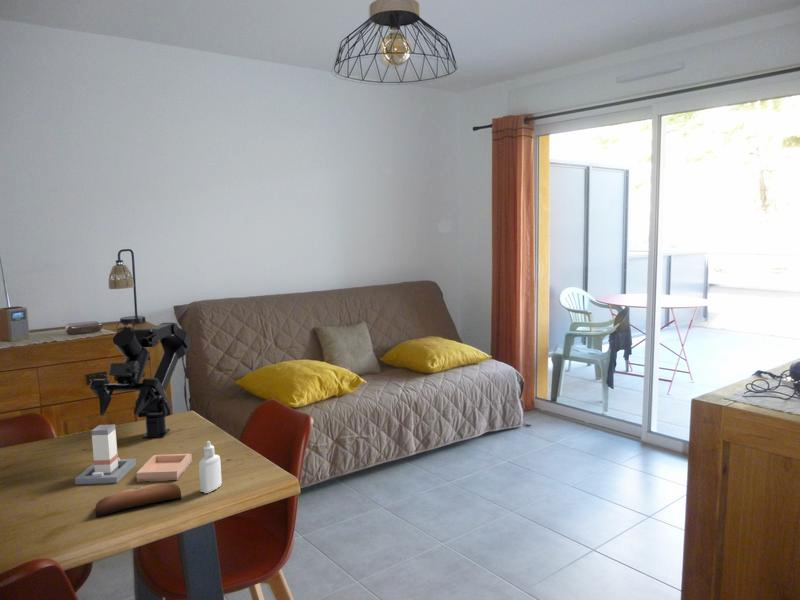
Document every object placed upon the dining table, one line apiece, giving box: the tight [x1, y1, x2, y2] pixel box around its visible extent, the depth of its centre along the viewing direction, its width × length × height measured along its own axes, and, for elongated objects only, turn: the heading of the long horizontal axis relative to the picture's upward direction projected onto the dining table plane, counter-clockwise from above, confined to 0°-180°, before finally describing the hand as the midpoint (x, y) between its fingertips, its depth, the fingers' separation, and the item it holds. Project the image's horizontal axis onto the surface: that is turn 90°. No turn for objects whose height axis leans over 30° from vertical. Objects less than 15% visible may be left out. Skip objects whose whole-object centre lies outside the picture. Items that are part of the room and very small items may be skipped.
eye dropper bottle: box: [198, 440, 223, 494], centre depth 141 cm, size 4×6×12 cm
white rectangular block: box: [90, 423, 119, 475], centre depth 152 cm, size 5×4×12 cm
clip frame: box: [74, 456, 137, 485], centre depth 152 cm, size 12×10×2 cm
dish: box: [135, 453, 193, 483], centre depth 153 cm, size 12×10×2 cm
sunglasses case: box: [95, 482, 182, 517], centre depth 136 cm, size 18×7×7 cm
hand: (118, 414), depth 159 cm, fingers open, 9 cm apart
